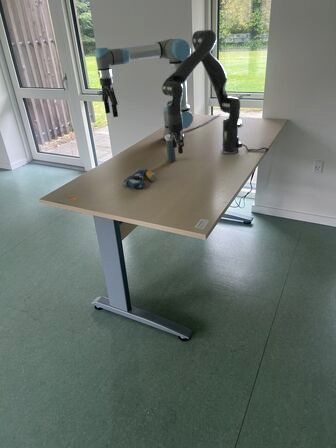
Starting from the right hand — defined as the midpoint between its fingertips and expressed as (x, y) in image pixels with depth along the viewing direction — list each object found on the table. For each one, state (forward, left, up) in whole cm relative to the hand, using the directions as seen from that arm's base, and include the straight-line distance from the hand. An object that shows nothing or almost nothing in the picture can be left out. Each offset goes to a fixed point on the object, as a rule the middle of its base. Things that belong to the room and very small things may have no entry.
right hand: (177, 150), depth 184 cm
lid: (-1, -21, +2) cm, 21 cm away
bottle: (-1, -21, -14) cm, 25 cm away
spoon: (-60, -70, -14) cm, 94 cm away
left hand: (+31, -40, +14) cm, 53 cm away
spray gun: (+22, +4, -14) cm, 26 cm away
